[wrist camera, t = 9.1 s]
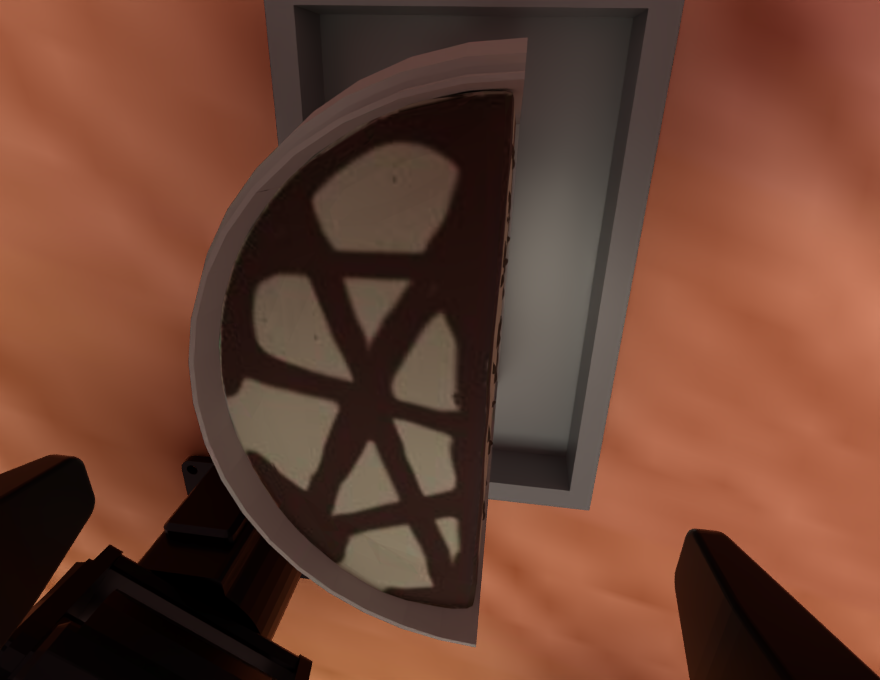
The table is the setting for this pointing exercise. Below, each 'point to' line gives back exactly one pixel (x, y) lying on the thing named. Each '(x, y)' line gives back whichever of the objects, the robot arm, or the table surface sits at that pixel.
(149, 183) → the table surface
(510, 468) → the grey tray
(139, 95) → the table surface
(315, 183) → the food container
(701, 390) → the table surface
